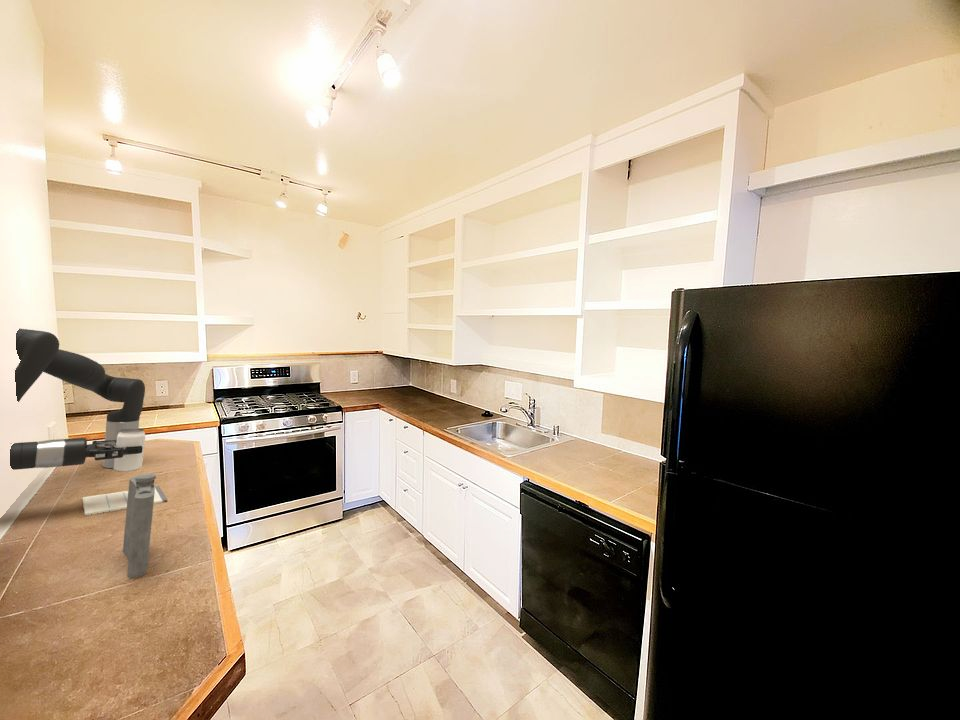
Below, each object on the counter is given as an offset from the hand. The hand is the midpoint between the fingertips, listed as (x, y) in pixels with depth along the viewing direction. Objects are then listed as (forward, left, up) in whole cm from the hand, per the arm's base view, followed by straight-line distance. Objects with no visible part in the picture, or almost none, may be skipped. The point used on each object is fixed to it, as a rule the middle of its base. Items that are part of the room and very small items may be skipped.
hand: (140, 446), depth 119 cm
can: (0, -2, -7) cm, 7 cm away
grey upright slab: (+41, -4, -17) cm, 44 cm away
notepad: (0, -2, -16) cm, 17 cm away
